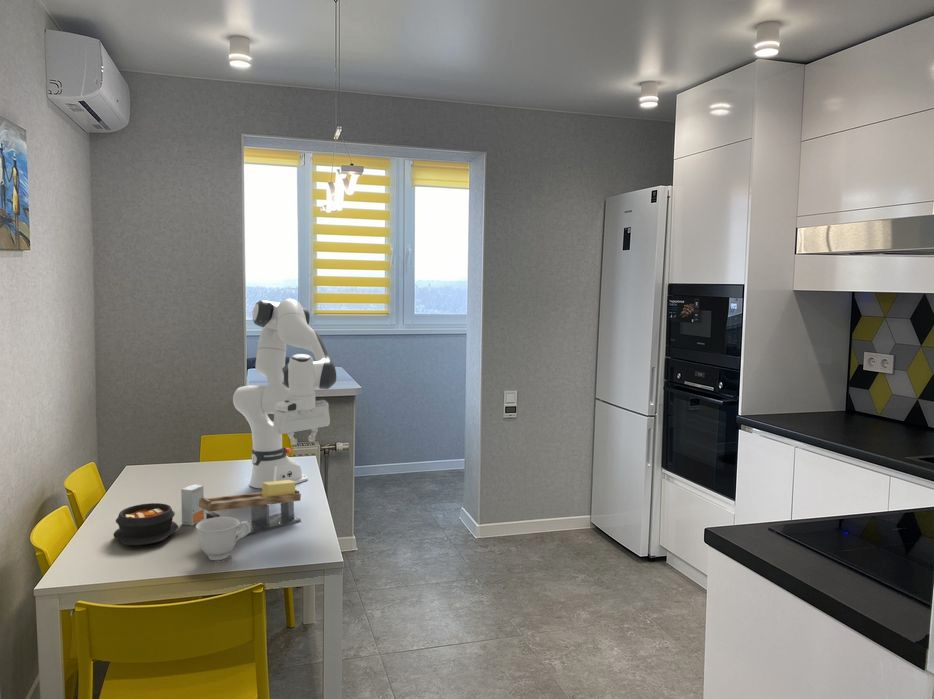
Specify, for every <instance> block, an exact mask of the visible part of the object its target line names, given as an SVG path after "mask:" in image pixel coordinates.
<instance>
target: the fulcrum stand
mask: <svg viewBox="0 0 934 699" xmlns="http://www.w3.org/2000/svg"><path fill="white" fill-rule="evenodd" d="M250 511H251V512H250V514H251V517H250V518H251V520H249V521H247V522H248V523H249V525H250V531H249V533H248V534H247V535H246V536H244V537H243V538H245V537H248V536H249V537H250V536H253V535H256V534H259V533H262V532H267V531H271V530H273V529H274V530H275V529H278V528H282V527H286V526H289V525H293V524H296V523H299V522H302V519H301V518H299V517H298V516H295V501H293V502H285V503H280V512H279V513H275V514H272V515H270V504H269V505H260V506H252V507H250ZM205 514H206V519H209V518H214V517H221V514H218V513H217V512H216V511H212V512H208V511H206V512H205ZM239 525H240V523H239V524H238V525H237V526H239ZM246 530H247V526H246V525H242V526H241V529H240V530H239V529H237V530H236V538H237V537H238V536H239V535H241V534H243V533H245V532H246Z"/></svg>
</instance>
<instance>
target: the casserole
mask: <svg viewBox="0 0 934 699" xmlns="http://www.w3.org/2000/svg"><path fill="white" fill-rule="evenodd" d="M175 514H176V512H175V511H174V510H173V509H172V507H171V505H169V504H166V503H160V502H159V503H157V502H156V503H153V502H152V503H151V502H150V503H141V504H136V505H133V506H129V507H127V508H124V509H122V510H120V512H119V513H118V516H117V518H116V519H115V523H116V524H117V525H118V528H117V529H116V530H114V533H113V537H114V538H115V539H117V540H119V541H120V542H121V543H122V544H123V545H126V546H144V545H150V544H154V543H155V544H156V543H159V542H162V541H164V540H166V539H167V538H168V537H169V536H170V535H171V534H174V532H176V531H177V530H179V525H178V524H177V523H176V522H175V521H173V518H174V517H175Z"/></svg>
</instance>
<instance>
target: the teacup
mask: <svg viewBox="0 0 934 699" xmlns="http://www.w3.org/2000/svg"><path fill="white" fill-rule="evenodd" d="M238 524H240V525H239V526H237V525H238ZM242 525H246V526H247V530H246V532H245V533H243V534H241V535H239V536H238V537H237V538H236V530H237V529H239V530H240V529H241V526H242ZM195 529H197V531H198V533H199V541H200V545H201V549H202V551H203V553H205V554H206V555H208V556H207V557H208V559H209V560H211V561H220V560H222V561H223V560H225V559H227V558H228V557H230V552H231V551H232V550H233V549H234V548H235V545H236V543H237V542H238V540H241V539H242V538H245V537H247V536H246V535H247V534H248V533H249V531H250V525H249V523H248V521H245V520H244V521H241V522H240V521H239V519H238V518H236V517H232V516H220V517H214V518H209V519H205V518H204V520H203V521H200V522H198V523H196V524H195ZM244 536H245V537H244Z"/></svg>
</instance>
